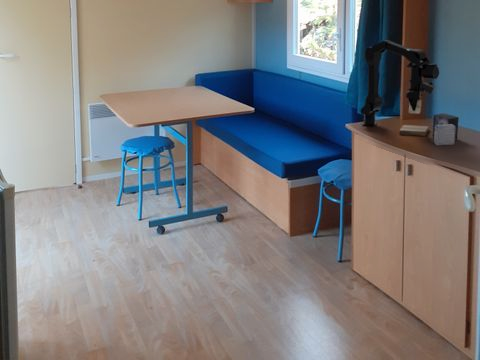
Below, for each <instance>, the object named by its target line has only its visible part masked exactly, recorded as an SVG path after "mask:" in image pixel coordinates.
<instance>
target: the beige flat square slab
mask: <svg viewBox="0 0 480 360" xmlns="http://www.w3.org/2000/svg"><path fill="white" fill-rule="evenodd" d="M428 132H429V126H428V125H412V124H409V125H408V124H403V125H402V126H401V127H400V129H399V131H398V133H399V135H403V136H420V137H421V136H422V137H425V136H426V135H427V133H428Z"/></svg>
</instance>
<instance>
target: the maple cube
mask: <svg viewBox="0 0 480 360" xmlns="http://www.w3.org/2000/svg"><path fill="white" fill-rule="evenodd" d="M421 112H422V99H421V98H420V99H419V100H418V101H417V105H416V110H415V111H413V110H412V107H411V105H410V102H409V101H408V114H417V115H418V114H420V113H421Z"/></svg>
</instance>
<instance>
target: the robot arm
mask: <svg viewBox="0 0 480 360" xmlns="http://www.w3.org/2000/svg"><path fill="white" fill-rule="evenodd" d="M386 51H388V52H391V53H394V54H397V55H399V56H402V57H403V58H405V59H406V60H407V61H408V62H409V63H408V64H407V65H406V68H410V72H409V73H410V76H409V77H410V78H409V79H408V80H409V89H408V91H407V92H406V94H405V98H406V99H407V100H408V103H409V102H410V105H411V107H412V110H413V111H415V110H416V105H417V101H418V100H419V99H421V98H422V96H424V93H425V92H427V93H428V94H433V92H434V89H435V88H436V87H435V85H434V82H433V81H429V82H425V79H432V80H436V79H438V78H439V75H440V70H439V69H440V68H439V67H438V64H437V63H431V62H430V60H429V59H428V57H427V54H426V51H425V50H424V49H418V48H410V47H407V46H403V45H402V44H399V43H397V42H394V41H392V40H390V39H386V40H382V41H380V42H379V43H377V44H375V45H372V46H370V47H369V46H368V47H367V48H366V49H364V58H365V62H366V63H367V66H368V68H367V69H368V70H367V72H368V74H367V75H368V76H367V78H368V80H367V81H368V82H367V85H368V87H367V91H368V92H367V96H366V98H365V102H364V106H362V107H361V108H360V109H359V110H360V111H359V112H360V114H362V115H363V123H362V124H361V126H367V127H375V126H376V125H377V124H378V122H376V113H379V111H380V109H381V108H382V106H383V96H381V95H380V94H379V64H380V62H381V59H382V56H383V53H385V52H386Z"/></svg>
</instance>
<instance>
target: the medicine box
mask: <svg viewBox="0 0 480 360" xmlns="http://www.w3.org/2000/svg"><path fill="white" fill-rule="evenodd" d="M433 137H434V139H433V143H434V144H435V145H436V146H449V145H451V146H452V145H453V146H454V145H455V140H456V139H455V126H454V125H452V124H442V125H435V134H434V136H433Z"/></svg>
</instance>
